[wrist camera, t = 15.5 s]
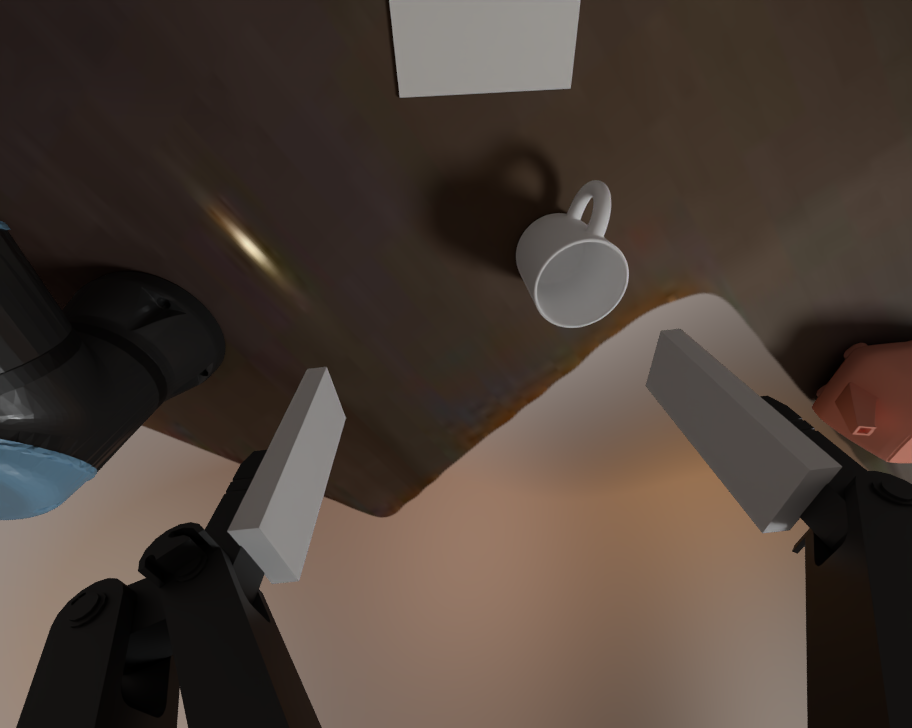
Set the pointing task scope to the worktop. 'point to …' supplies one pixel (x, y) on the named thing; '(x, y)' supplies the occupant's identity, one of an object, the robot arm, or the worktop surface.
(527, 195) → the worktop surface
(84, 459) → the robot arm
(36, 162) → the worktop surface
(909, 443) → the teapot
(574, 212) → the mug
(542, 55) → the paper
